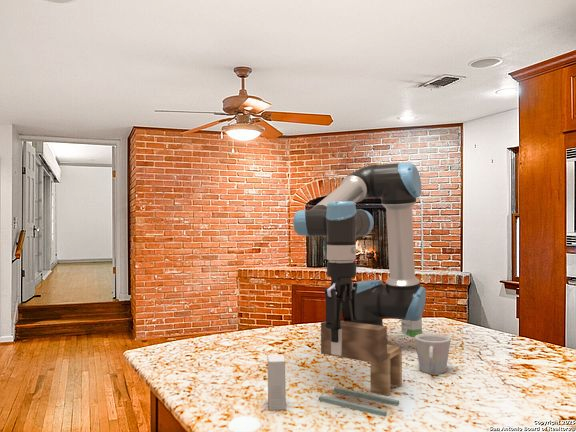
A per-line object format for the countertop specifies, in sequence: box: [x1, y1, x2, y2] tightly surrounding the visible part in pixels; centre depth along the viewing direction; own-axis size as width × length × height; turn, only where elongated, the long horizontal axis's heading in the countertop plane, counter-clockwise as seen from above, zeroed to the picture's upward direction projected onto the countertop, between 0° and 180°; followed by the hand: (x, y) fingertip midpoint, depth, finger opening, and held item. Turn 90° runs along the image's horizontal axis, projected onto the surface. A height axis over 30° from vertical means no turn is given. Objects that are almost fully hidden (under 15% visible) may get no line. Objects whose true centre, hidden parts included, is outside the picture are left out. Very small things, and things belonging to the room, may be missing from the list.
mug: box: [414, 332, 451, 375], centre depth 147 cm, size 10×15×10 cm
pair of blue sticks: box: [318, 386, 400, 417], centre depth 124 cm, size 18×9×1 cm, turn 56°
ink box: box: [400, 315, 423, 338], centre depth 194 cm, size 9×5×12 cm, turn 14°
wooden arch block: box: [369, 343, 403, 396], centre depth 133 cm, size 5×10×11 cm, turn 146°
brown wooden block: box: [320, 320, 388, 364], centre depth 124 cm, size 16×5×8 cm, turn 56°
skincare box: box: [266, 353, 287, 411], centre depth 122 cm, size 6×4×12 cm
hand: (341, 351), depth 126 cm, fingers closed on brown wooden block, 5 cm apart
